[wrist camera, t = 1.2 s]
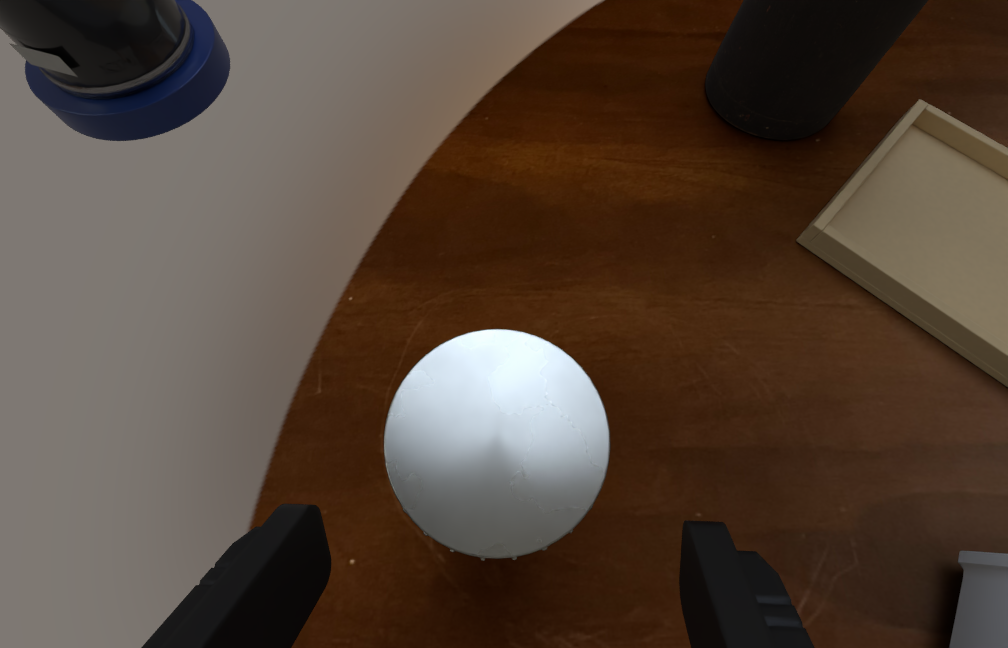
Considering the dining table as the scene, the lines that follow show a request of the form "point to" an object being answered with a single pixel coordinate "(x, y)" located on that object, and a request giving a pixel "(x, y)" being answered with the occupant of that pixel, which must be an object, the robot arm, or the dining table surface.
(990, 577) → the tube
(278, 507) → the robot arm
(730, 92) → the container
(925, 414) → the dining table surface
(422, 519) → the lid
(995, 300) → the tray
